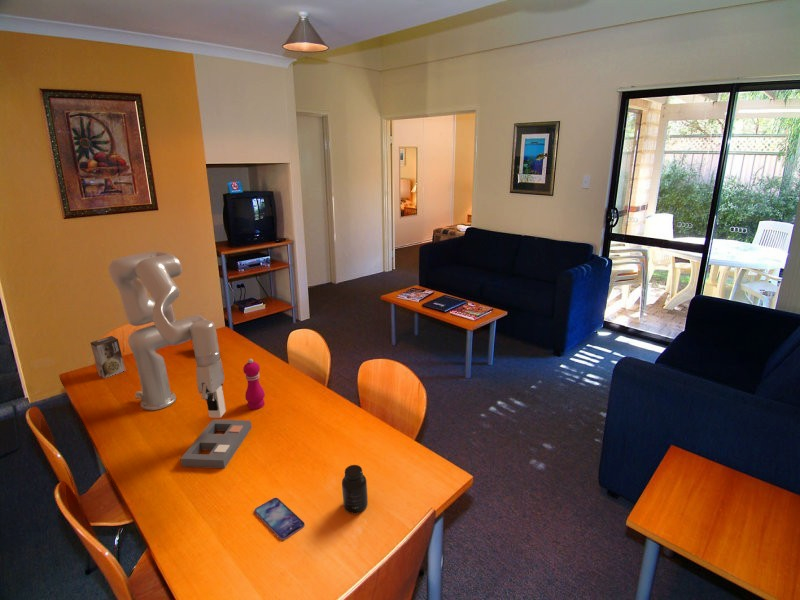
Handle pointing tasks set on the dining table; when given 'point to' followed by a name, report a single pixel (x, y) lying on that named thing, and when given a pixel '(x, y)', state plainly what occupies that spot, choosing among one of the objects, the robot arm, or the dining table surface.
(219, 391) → the plug
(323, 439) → the dining table surface
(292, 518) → the smartphone
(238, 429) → the socket board
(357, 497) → the supplement bottle
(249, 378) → the pepper mill
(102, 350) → the coffee box
